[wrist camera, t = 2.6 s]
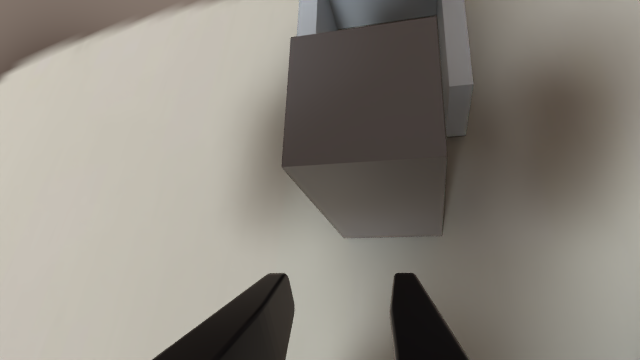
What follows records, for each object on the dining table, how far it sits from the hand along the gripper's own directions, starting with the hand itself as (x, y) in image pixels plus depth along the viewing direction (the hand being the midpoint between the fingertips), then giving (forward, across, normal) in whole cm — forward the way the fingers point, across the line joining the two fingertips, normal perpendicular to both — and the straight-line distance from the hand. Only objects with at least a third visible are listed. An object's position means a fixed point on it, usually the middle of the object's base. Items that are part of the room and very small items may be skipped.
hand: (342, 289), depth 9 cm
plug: (+14, 0, +4) cm, 14 cm away
